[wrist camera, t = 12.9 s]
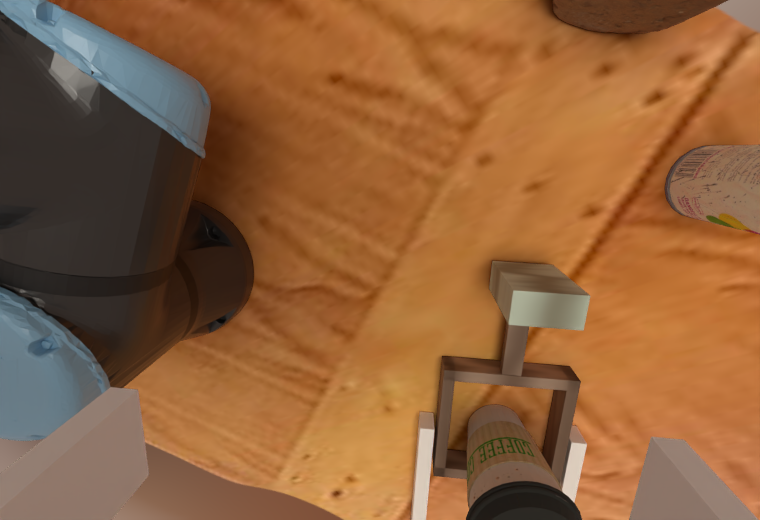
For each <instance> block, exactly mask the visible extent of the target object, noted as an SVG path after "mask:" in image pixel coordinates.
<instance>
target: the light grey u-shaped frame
mask: <svg viewBox="0 0 760 520" xmlns="http://www.w3.org/2000/svg"><path fill="white" fill-rule="evenodd" d="M433 440H434V416H433V413H431V412H420V413H419V425H418V437H417V449H416V461H415V473H414V485H413V497H412V509H411V520H426V512H427V502H428V492H429V481H430V471H431V460H432V450H433ZM586 446H587V443H586V442H585V440H584V438H583V436H582V435H581V433H580V431H579V430H578V428H577V426H573V425H572V427H571V432H570V437H569V442H568V447H567V452H566V457H565V462H564V467H563V472H562V476H561V481H560V485H561V488H562V491H563V493H564V494H566V495H567V496H568V497H569V498H570V499H571V500H572V501H573V502H574V501H575V497H576V492H577V488H578V483H579V478H580V474H581V469H582V465H583V460H584V455H585V451H586Z"/></svg>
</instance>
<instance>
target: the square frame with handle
mask: <svg viewBox="0 0 760 520" xmlns="http://www.w3.org/2000/svg"><path fill="white" fill-rule="evenodd" d="M489 290H490V291H491V293H492V295H493V297H494V299H495V301H496V303H497V304H498V306H499V308H500V310H501V312H502V314H503V316H504V317H505V319H506V321H507V322H506V329H505V336H504V343H503V350H502V357H501V361H496V360H484V359H472V358H460V357H447V356H442V364H441V374H440V385H439V395H438V405H437V416H436V426H435V436H434V447H433V473H434V476H440V477H450V478H460V479H467V452H466V451H455V450H447V446H448V437H449V428H450V419H451V409H452V400H453V391H454V382H455V381H459V382H471V383H483V384H494V385H506V386H518V387H529V388H541V389H553V390H554V394H553V400H552V405H551V411H550V416H549V421H548V427H547V432H546V438H545V443H544V449H543V454H542V455H543V457H544V458H545V460H546V462H547V463H548V465H549V467H550V468H551V470H552V472H553V473H554V475H555V477H556V478H557V480H558V482H559V484H560V481H561V476H562V472H563V467H564V462H565V457H566V452H567V447H568V442H569V437H570V432H571V427H572V422H573V417H574V412H575V407H576V402H577V398H578V393H579V388H580V383H581V381H580V380H579V378H578V377H577V376H576V374H575V373H574V371H573V370H572V369H571V367H570V366H558V365H545V364H533V363H523V362H524V355H525V349H526V343H527V336H528V330H529V326H531V327H545V328H558V329H571V330H584V325H585V320H586V315H587V310H588V305H589V300H590V295H589V294H588V293H586V292H585V291H584V290H583V289H581V288H580V287H579V286H578V285H577V284H575V283H574V282H573V281H572V280H571V279H569V278H568V277H567V276H566V275H565V274H563V273H562V272H561V271H560V270H559V269H557V268H556V267H555V266H554V265H548V264H533V263H518V262H503V261H492V269H491V277H490V285H489Z"/></svg>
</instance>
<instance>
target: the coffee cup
mask: <svg viewBox="0 0 760 520" xmlns="http://www.w3.org/2000/svg"><path fill="white" fill-rule="evenodd" d="M467 497H468V506H469V512H468V514H467V517H466V520H582V518H581V515H580V511H579V510H578V508H577V506H576V505H575V503H574V502H573V501H572V500H571V499H570V498H569V497H568V496H567V495H566V494H564V493H563V491H562V488H561V485H560V484H559V482H558V480H557V478H556V477H555V475H554V473H553V472H552V470H551V468H550V467H549V465H548V463H547V462H546V460H545V458H544V457H543V455H542V454H541V452H540V450H539V449H538V447H537V445H536V444H535V442H534V440H533V439H532V437H531V435H530V434H529V433H528V432H527V431H526V429H525V427H524V426H523V424H522V422H521V421H520V419H519V417H518V415H517V414H516V413H515V412H514V411H513V410H511V409H510V408H508V407H506V406H502V405H487V406H484V407H482V408H479V409H478V410H477V411H475V412H474V413H473V414H472V416H471V417H470V419H469V422H468V444H467Z"/></svg>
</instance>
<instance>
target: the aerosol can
mask: <svg viewBox="0 0 760 520" xmlns="http://www.w3.org/2000/svg"><path fill="white" fill-rule="evenodd" d="M665 193H666V198H667V201H668V202H669V204H670V205H671V207H672V209H674V210H675V211H677V212H678V213H679V214H681V215H684V216H687V217H691V218H695V219H699V220H703V221H707V222H711V223H715V224H719V225H723V226H728V227H732V228H736V229H740V230H744V231H748V232H752V233H756V234H760V145H721V146H702V147H699V148H696V149H693V150H690V151H689V152H687V153H686V154H684V155H683V156H681V157H680V158H679V159H678V160H677V161H676V163H675V164H674V165H673V166H672V167H671V169H670V172H669V174H668V176H667V178H666V184H665Z"/></svg>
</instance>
